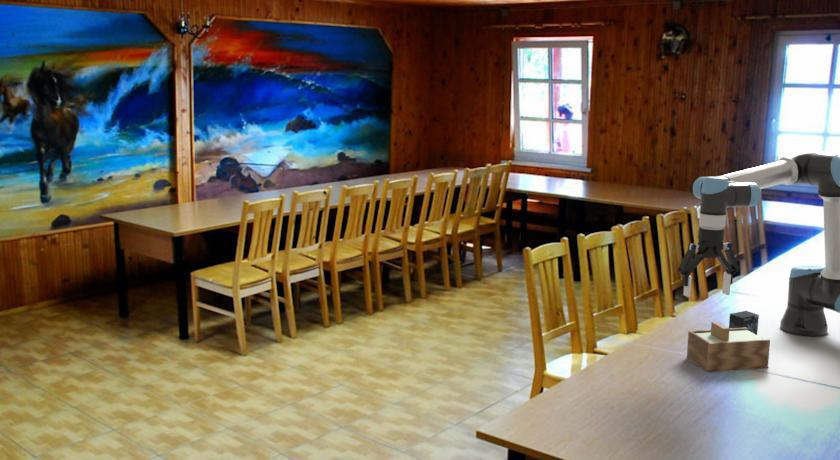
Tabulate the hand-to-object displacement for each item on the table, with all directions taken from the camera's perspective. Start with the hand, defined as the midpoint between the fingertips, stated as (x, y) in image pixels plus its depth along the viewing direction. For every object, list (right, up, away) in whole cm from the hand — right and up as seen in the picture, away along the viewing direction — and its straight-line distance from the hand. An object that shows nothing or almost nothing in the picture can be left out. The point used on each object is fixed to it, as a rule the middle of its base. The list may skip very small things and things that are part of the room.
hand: (706, 295), depth 250 cm
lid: (+8, -14, +2) cm, 16 cm away
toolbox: (+8, -22, +4) cm, 23 cm away
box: (+20, -18, +22) cm, 34 cm away
